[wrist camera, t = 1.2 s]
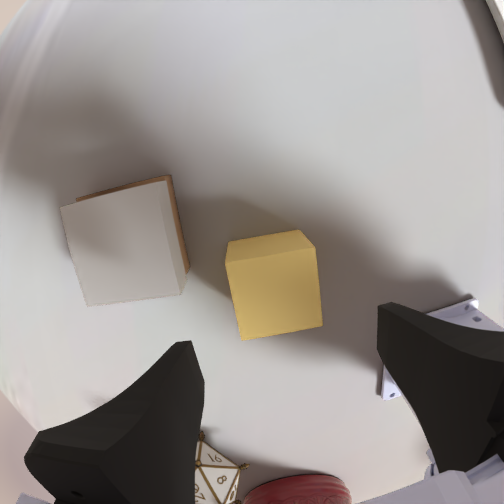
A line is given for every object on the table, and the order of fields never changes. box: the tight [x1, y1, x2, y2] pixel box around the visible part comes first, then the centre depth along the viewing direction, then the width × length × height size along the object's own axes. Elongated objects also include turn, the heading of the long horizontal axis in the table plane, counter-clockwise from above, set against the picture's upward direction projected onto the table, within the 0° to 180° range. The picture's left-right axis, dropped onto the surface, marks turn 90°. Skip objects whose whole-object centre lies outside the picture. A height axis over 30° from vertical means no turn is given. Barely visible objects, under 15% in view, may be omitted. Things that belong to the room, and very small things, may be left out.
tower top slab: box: [60, 180, 187, 307], centre depth 16 cm, size 6×6×2 cm
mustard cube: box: [225, 229, 323, 341], centre depth 18 cm, size 4×4×4 cm
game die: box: [195, 431, 250, 504], centre depth 21 cm, size 9×8×10 cm
